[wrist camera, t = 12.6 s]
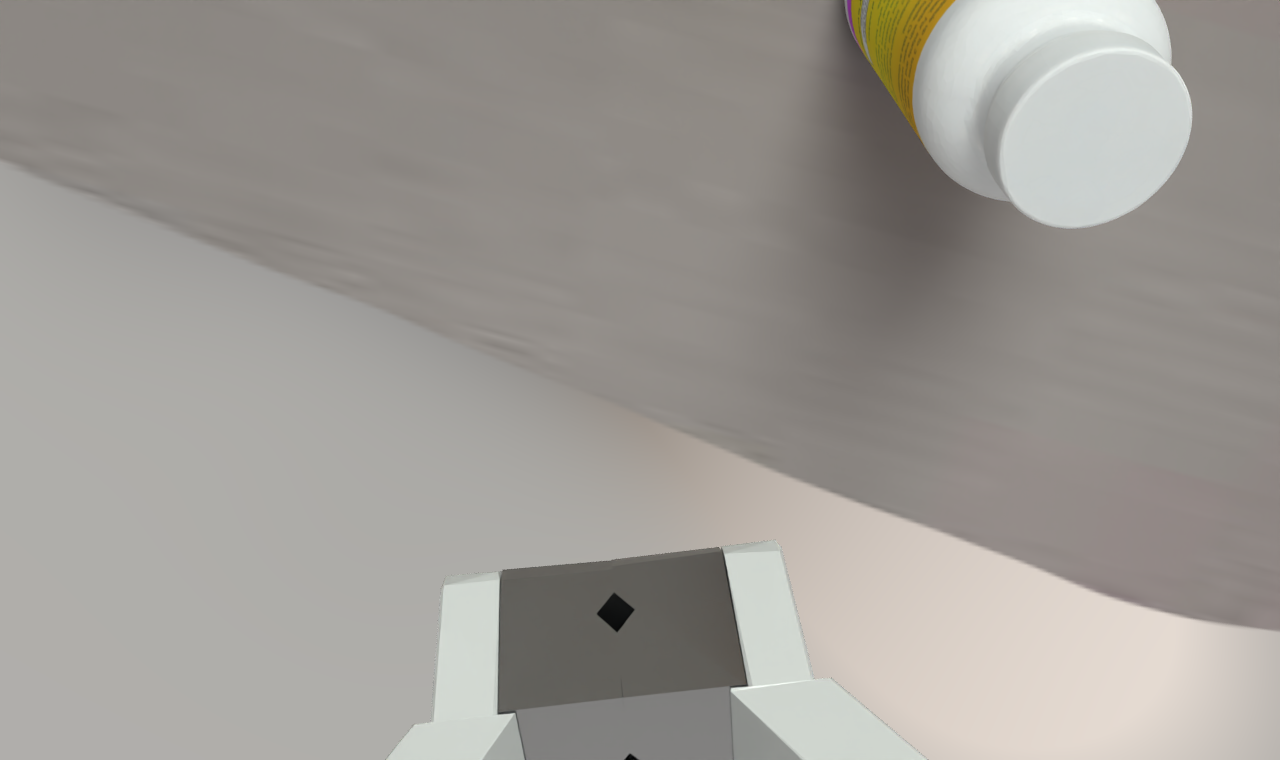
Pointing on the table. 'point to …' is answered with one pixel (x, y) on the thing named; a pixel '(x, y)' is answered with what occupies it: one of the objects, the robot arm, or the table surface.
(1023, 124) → the supplement bottle
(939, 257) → the table surface
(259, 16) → the table surface
